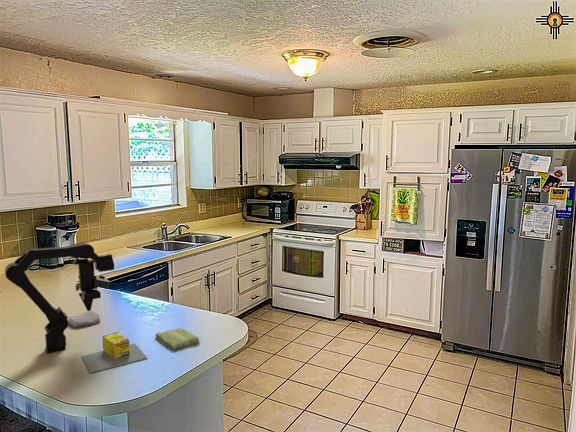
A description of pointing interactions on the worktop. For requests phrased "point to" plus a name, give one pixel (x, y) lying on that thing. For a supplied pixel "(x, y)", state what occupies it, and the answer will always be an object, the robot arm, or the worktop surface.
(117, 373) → the worktop surface
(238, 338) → the worktop surface
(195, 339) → the washcloth
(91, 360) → the grey mat
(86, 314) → the stone block
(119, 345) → the supplement box
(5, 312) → the worktop surface
